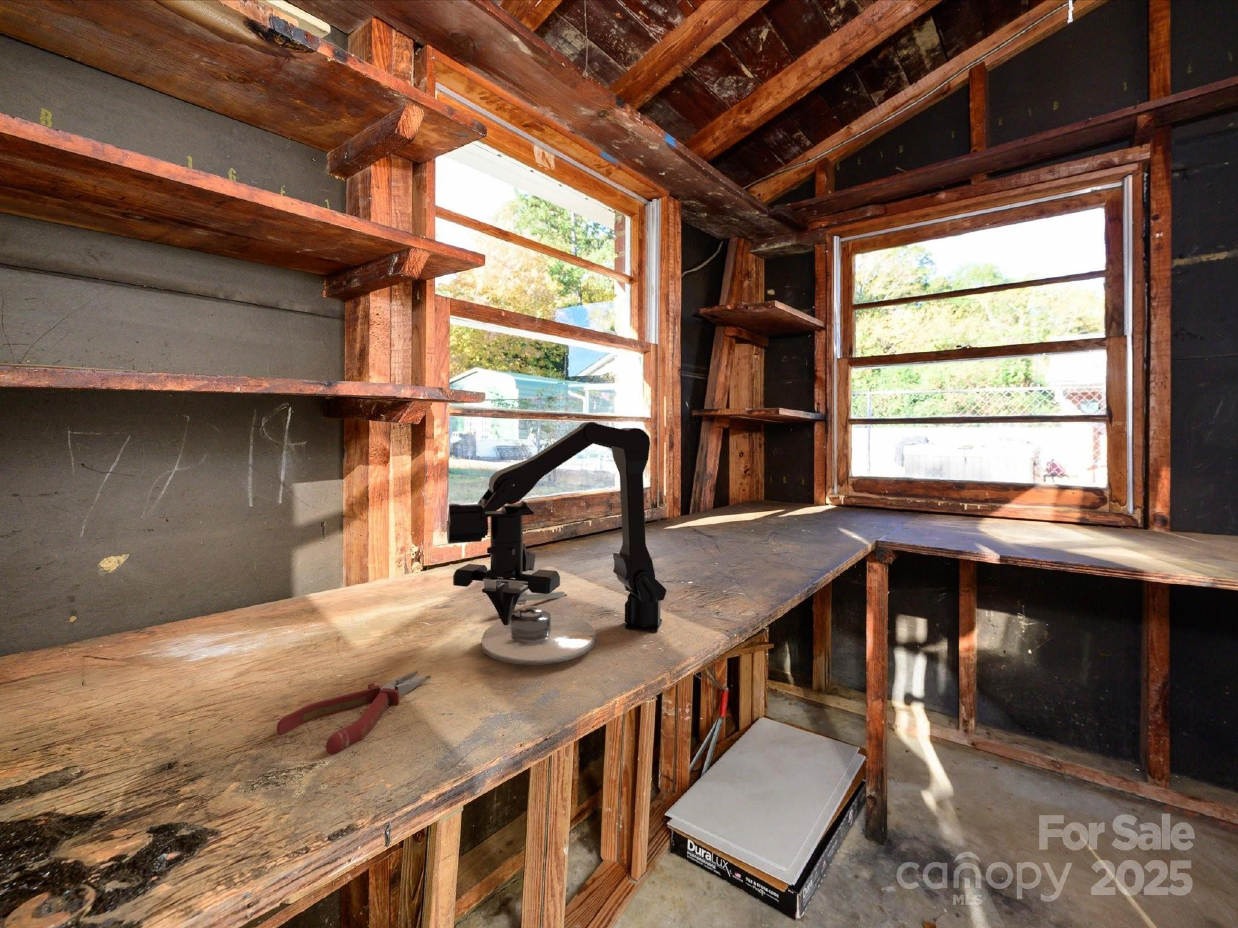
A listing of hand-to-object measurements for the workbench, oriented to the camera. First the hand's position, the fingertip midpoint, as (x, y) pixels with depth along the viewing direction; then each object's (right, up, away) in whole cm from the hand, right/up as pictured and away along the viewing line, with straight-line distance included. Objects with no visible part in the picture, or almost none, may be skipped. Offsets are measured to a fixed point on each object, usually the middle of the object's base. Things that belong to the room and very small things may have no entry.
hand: (506, 624), depth 99 cm
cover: (+5, -1, -1) cm, 5 cm away
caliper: (+2, -3, +22) cm, 23 cm away
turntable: (+6, -3, -1) cm, 7 cm away
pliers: (-14, -6, -24) cm, 28 cm away
